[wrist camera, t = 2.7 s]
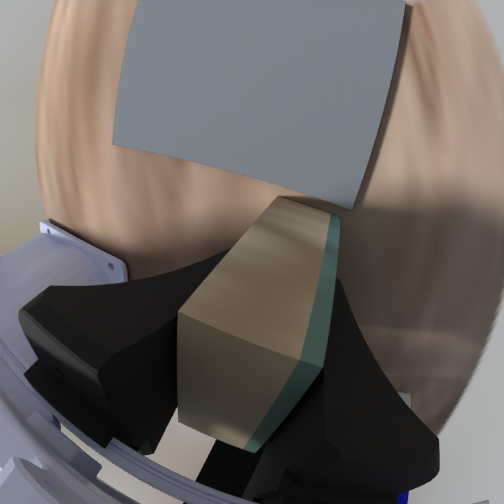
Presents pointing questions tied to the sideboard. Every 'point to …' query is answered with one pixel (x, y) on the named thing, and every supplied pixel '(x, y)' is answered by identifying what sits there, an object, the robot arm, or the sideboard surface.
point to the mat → (261, 87)
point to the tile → (258, 326)
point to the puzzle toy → (244, 466)
